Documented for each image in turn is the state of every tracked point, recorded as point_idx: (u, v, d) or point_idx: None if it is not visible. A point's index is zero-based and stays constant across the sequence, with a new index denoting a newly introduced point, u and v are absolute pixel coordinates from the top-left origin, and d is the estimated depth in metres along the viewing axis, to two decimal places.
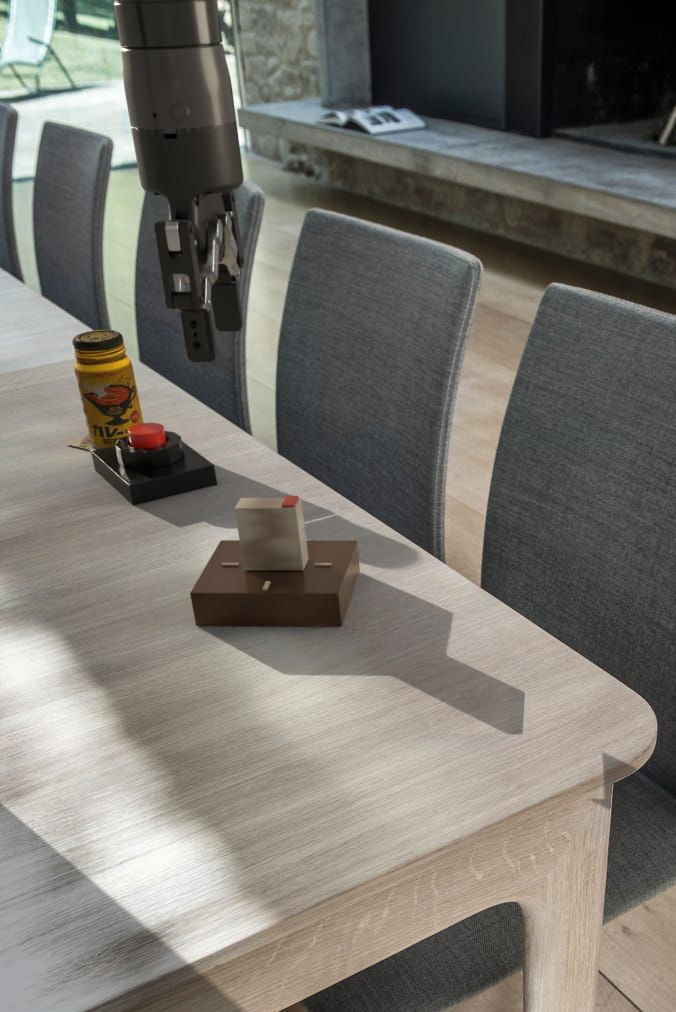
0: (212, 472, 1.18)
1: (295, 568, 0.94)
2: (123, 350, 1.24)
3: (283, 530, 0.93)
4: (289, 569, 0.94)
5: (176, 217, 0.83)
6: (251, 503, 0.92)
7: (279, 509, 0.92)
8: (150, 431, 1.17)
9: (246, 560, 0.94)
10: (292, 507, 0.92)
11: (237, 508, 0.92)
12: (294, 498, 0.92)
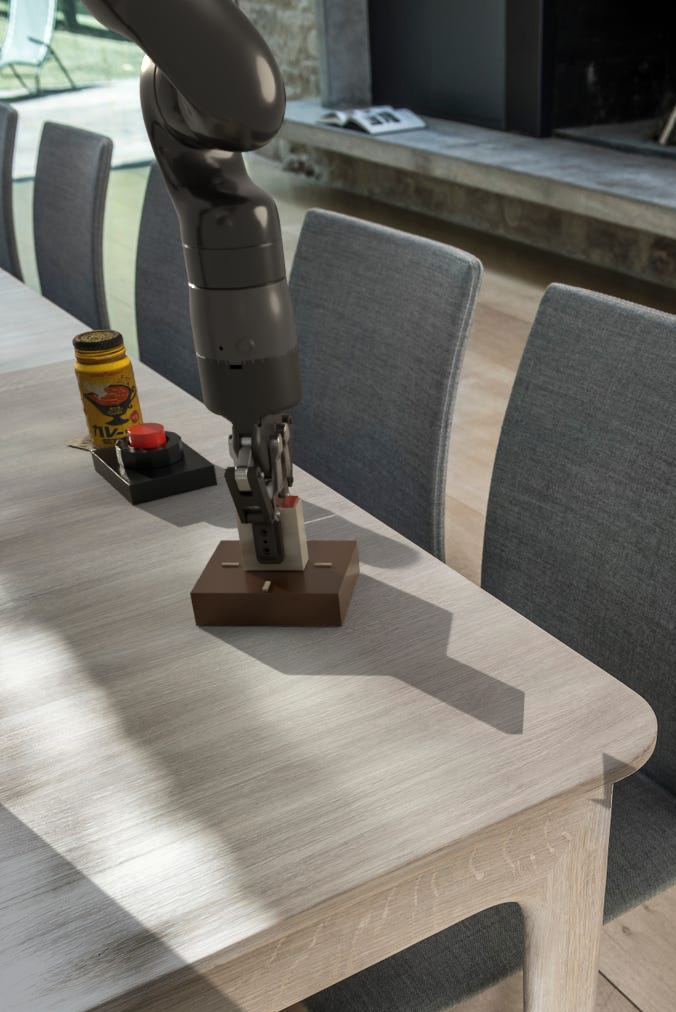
0: (212, 472, 1.18)
1: (295, 568, 0.94)
2: (123, 350, 1.24)
3: (283, 530, 0.93)
4: (289, 569, 0.94)
5: (239, 445, 0.86)
6: None
7: None
8: (150, 431, 1.17)
9: (246, 560, 0.94)
10: (292, 507, 0.92)
11: None
12: (294, 498, 0.92)
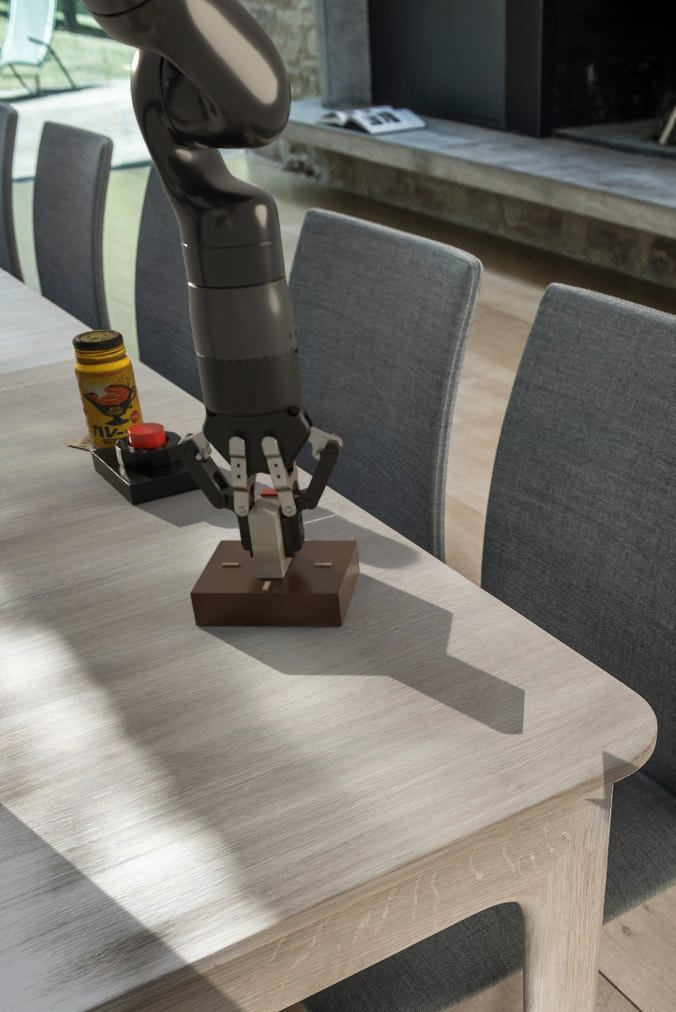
0: None
1: None
2: (123, 350, 1.24)
3: None
4: None
5: None
6: (265, 509, 0.91)
7: None
8: (150, 431, 1.17)
9: (282, 566, 0.93)
10: None
11: (274, 514, 0.91)
12: (271, 489, 0.94)
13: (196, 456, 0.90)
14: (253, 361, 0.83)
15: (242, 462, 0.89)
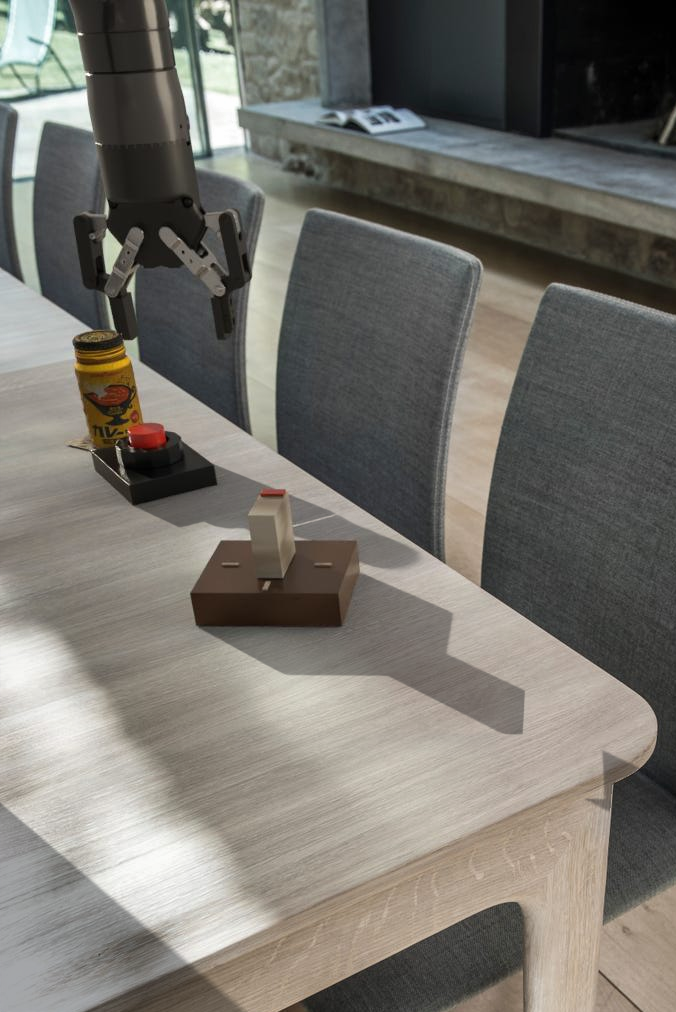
0: (212, 472, 1.18)
1: (294, 552, 0.97)
2: (123, 350, 1.24)
3: (287, 519, 0.94)
4: (292, 556, 0.96)
5: None
6: (265, 509, 0.91)
7: (284, 498, 0.93)
8: (150, 431, 1.17)
9: (282, 566, 0.93)
10: (284, 492, 0.94)
11: (274, 514, 0.91)
12: (271, 489, 0.94)
13: (90, 234, 0.96)
14: (144, 147, 0.90)
15: (133, 252, 0.96)
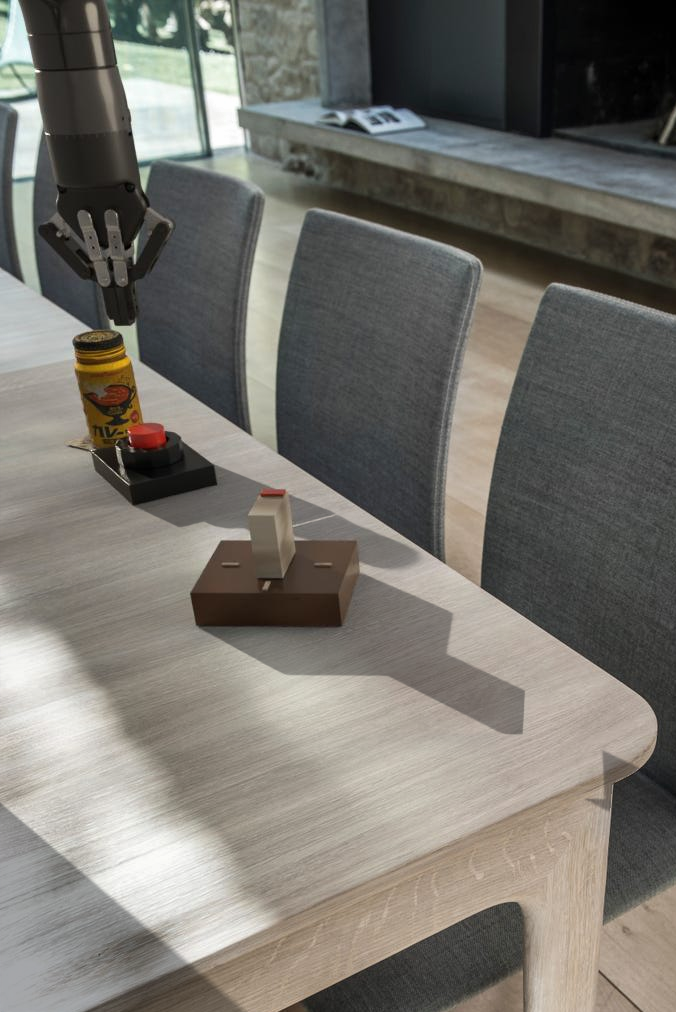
0: (212, 472, 1.18)
1: (294, 552, 0.97)
2: (123, 350, 1.24)
3: (287, 519, 0.94)
4: (292, 556, 0.96)
5: None
6: (265, 509, 0.91)
7: (284, 498, 0.93)
8: (150, 431, 1.17)
9: (282, 566, 0.93)
10: (284, 492, 0.94)
11: (274, 514, 0.91)
12: (271, 489, 0.94)
13: (56, 234, 1.07)
14: (90, 136, 1.00)
15: (92, 233, 1.06)
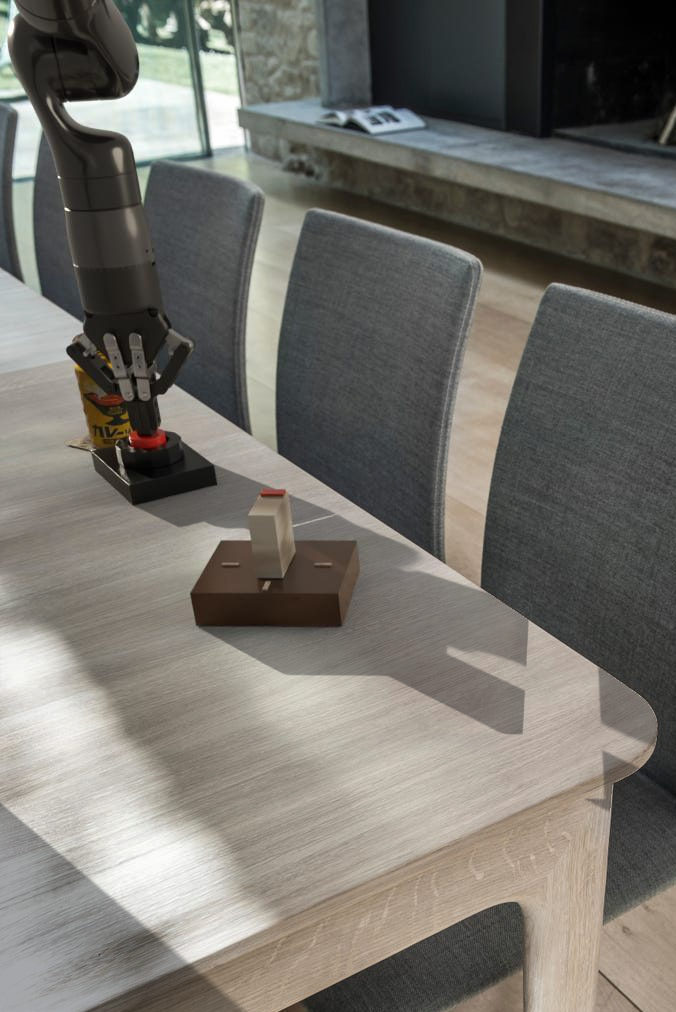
0: (212, 472, 1.18)
1: (294, 552, 0.97)
2: None
3: (287, 519, 0.94)
4: (292, 556, 0.96)
5: None
6: (265, 509, 0.91)
7: (284, 498, 0.93)
8: (151, 437, 1.17)
9: (282, 566, 0.93)
10: (284, 492, 0.94)
11: (274, 514, 0.91)
12: (271, 489, 0.94)
13: (83, 353, 1.13)
14: (116, 270, 1.06)
15: (117, 354, 1.12)
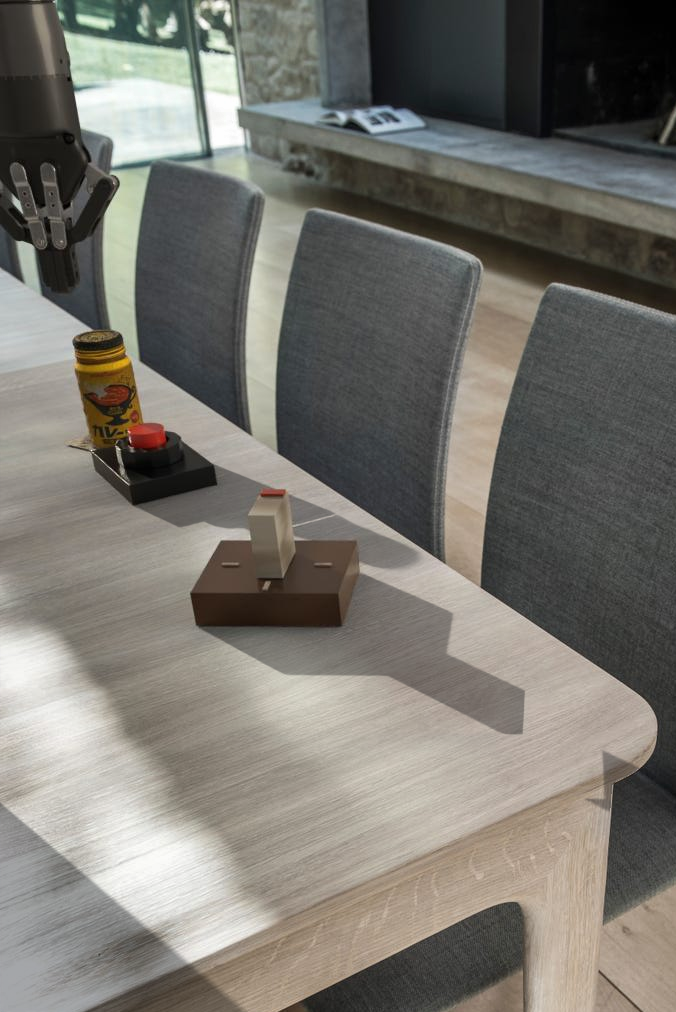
0: (212, 472, 1.18)
1: (294, 552, 0.97)
2: (123, 350, 1.24)
3: (287, 519, 0.94)
4: (292, 556, 0.96)
5: None
6: (265, 509, 0.91)
7: (284, 498, 0.93)
8: (150, 431, 1.17)
9: (282, 566, 0.93)
10: (284, 492, 0.94)
11: (274, 514, 0.91)
12: (271, 489, 0.94)
13: None
14: (24, 79, 0.90)
15: (27, 189, 0.96)
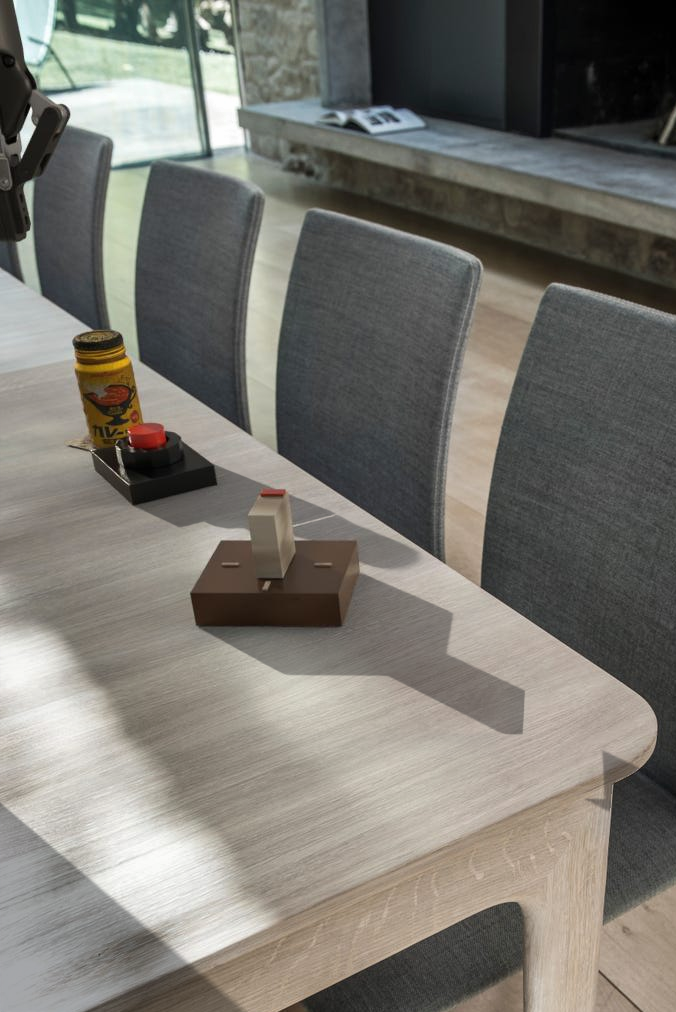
0: (212, 472, 1.18)
1: (294, 552, 0.97)
2: (123, 350, 1.24)
3: (287, 519, 0.94)
4: (292, 556, 0.96)
5: None
6: (265, 509, 0.91)
7: (284, 498, 0.93)
8: (150, 431, 1.17)
9: (282, 566, 0.93)
10: (284, 492, 0.94)
11: (274, 514, 0.91)
12: (271, 489, 0.94)
13: None
14: None
15: None
